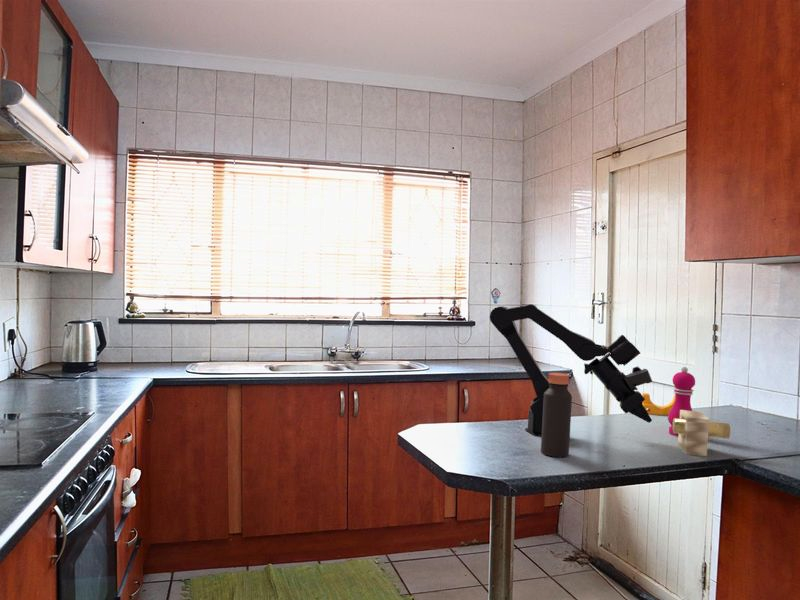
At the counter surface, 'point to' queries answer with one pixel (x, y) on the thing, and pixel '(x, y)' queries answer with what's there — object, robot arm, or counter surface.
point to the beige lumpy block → (694, 433)
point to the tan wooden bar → (714, 430)
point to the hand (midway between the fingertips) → (650, 421)
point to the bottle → (556, 416)
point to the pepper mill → (681, 395)
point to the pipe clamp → (654, 408)
